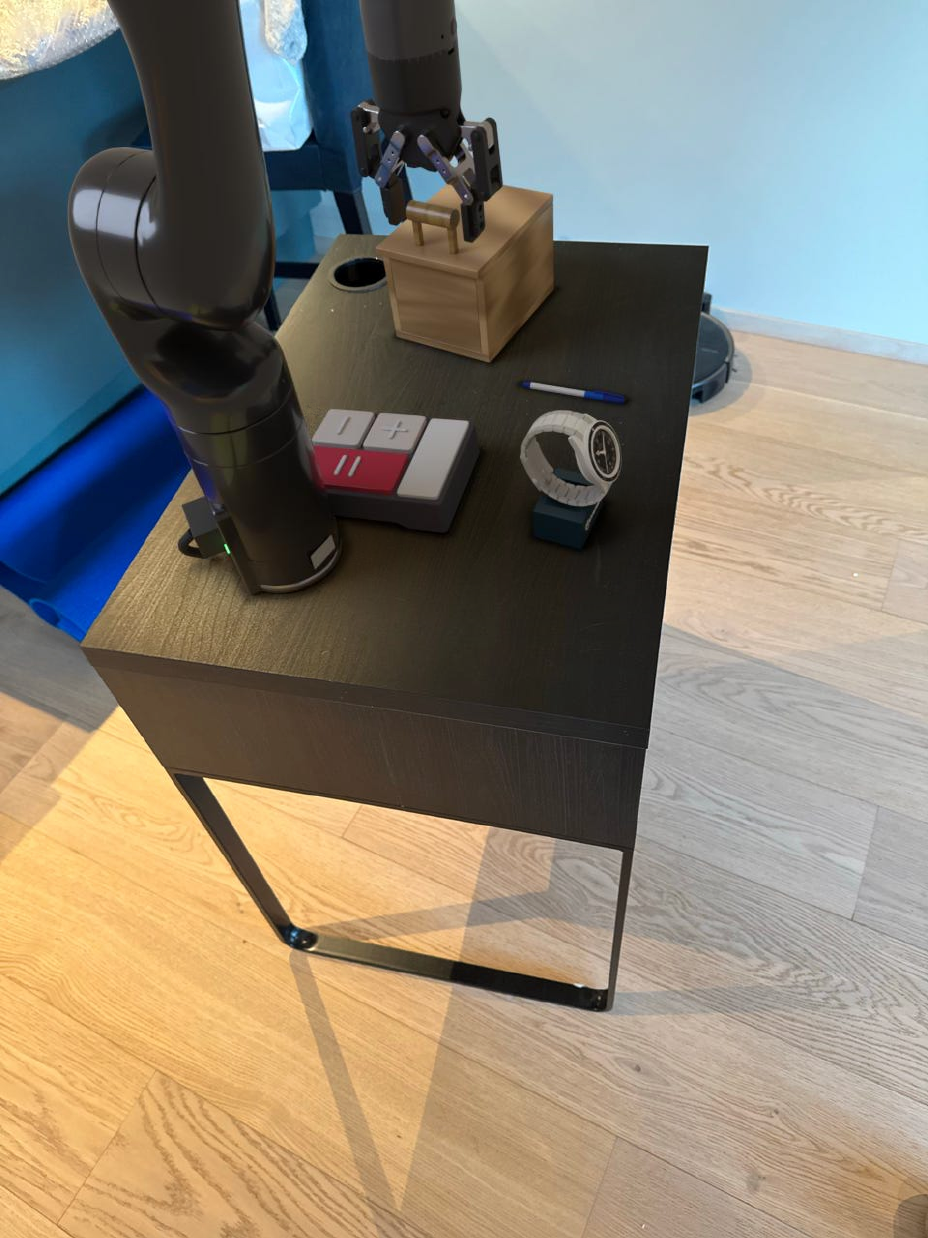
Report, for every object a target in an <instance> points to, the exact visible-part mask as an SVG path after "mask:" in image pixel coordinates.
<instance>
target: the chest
mask: <svg viewBox="0 0 928 1238" xmlns="http://www.w3.org/2000/svg"><path fill="white" fill-rule="evenodd" d="M382 260H383V267H384V271H385V278H386V284H387V290H388V295H389V300H390V306H391V311H392V317H393V324H394V328H395V335H396V337H397V338H400V339H403V340H407V341H411V342H414V343H417V344H422V345H424V346H429V347H432V348H435V349H440V350H443V351H447V352H450V353H454V354H458V355H461V356H464V357H467V358H471V359H475V360H479V361H481V362H486V363H489V364H490V363H491V362H492V361H493V360H494V359H495V357H496V356H497V355H498V354H499V353H500V352H501V351H502V349H503V348H505V346H506V345H507V344H508V343H509V341H510V340H511V339H512V338H513V337H514V336H515V334H516V333H517V332H518V331H519V330H520V329H521V328H522V327H523V325H525V323H526V322H527V321H528V320H529V318H530V317H532V315H533V314H534V313H535V312H536V310H537V309H538V308H539V307H540V306H541V305H542V303H543V302H544V301H545V300H546V299H547V298H548V297H549V295H551V293H552V292H553V291H554V289H555V284H554V283H555V282H554V280H555V278H554V275H555V274H554V273H555V272H554V271H555V270H554V269H555V267H554V266H555V265H554V201H553V202H552V203H551V204H550V205H549V206H548V207H547V209H546V210H545V211H544V212H543V213H542V214H541V215H540V216H539V217H538V218H537V219H536V220H535V221H534V222H533V223H532V224H531V225H530V226H529V227H528V228H527V229H526V230H525V231H524V232H523V233H522V234H521V235H520V236H519V237H518V239H517V240H516V241H515V242H514V243H513V244H512V245H511V246H510V247H509V248H508V249H507V250H506V251H505V252H504V253H503V254H502V255H501V256H500V257H499V258H498V259H497V260H496V261H495V262H494V263H493V264H492V265H491V266H490V268H489V269H488V270H487V271H486V272H485V273H484V274H483V275H482V276H481V277H480V278H479V279H475V278H471V277H467V276H463V275H458V274H454V273H450V272H446V271H442V270H437V269H433V268H429V267H425V266H421V265H416V264H412V263H408V262H404V261H400V260H395V259H391V258H387V257H383V256H382Z"/></svg>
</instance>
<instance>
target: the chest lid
mask: <svg viewBox="0 0 928 1238" xmlns="http://www.w3.org/2000/svg"><path fill="white" fill-rule="evenodd" d="M464 179H465V178H464ZM465 180H466V179H465ZM466 182H467V181H466ZM467 183H468V182H467ZM468 185H469V184H468ZM469 186H470V185H469ZM462 202H463V201H462V200H461V198H460V197H459V195H458V194H457V192H456V191H455V189H454V188H453V186H452V185H448V184H447V183H445V184H444V185H443V187H441V188H440V189H439V190H438V191H437V192H436V193H434V194H433V195H432V196H431V197H430V198H429V199H428V200H427V201H421V200H416V199H410V200H409V201H408V202H407V204H406V219H405V220H404V221H402V222H401V223H400V224H399V225H398V226H397V227H396V229H394V230H393V231H392V232H390V234H388V236H387V237H385V238H384V239H382V241H381V242H380V243H379V244H377V245H376V246H375V247H374V248H375V249H374V250H375V254H376V256H379V257H382V258H383V257H387V258H391V259H395V260H400V261H404V262H408V263H412V264H416V265H421V266H425V267H429V268H433V269H437V270H442V271H446V272H450V273H454V274H458V275H463V276H467V277H471V278H475V279H479V278H480V277H481V276H482V275H483V274H484V273H485V272H486V271H487V270H488V269H489V268H490V266H491V265H492V264H493V263H494V262H495V261H496V260H497V259H498V258H499V257H500V256H501V255H502V254H503V253H504V252H505V251H506V250H507V249H508V248H509V247H510V246H511V245H512V244H513V243H514V242H515V241H516V240H517V239H518V237H519V236H520V235H521V234H522V233H523V232H524V231H525V230H526V229H527V228H528V227H529V226H530V225H531V224H532V223H533V222H534V221H535V220H536V219H537V218H538V217H539V216H540V215H541V214H542V213H543V212H544V211H545V210H546V209H547V207H548V206H549V205H550V204H551V203H552V202H553V203H554V194H553V193H549V192H544V191H539V190H534V189H528V188H523V187H519V186H518V187H517V186H512V185H506V184H503V186H502V188H501V189H500V190H499V191H497V192H496V193H495V194H494V195H493V196H492V197H491V198H490V199H489V200H488V201H487V202H484V213H485V215H484V216H485V229H484V231H483V232H482V233H481V234H480V236H479V237H478V238H477V239H476V240H475V241H474V242H473V243H470V242H465V241H464V237H463V227H462V217H461V206H460V204H461V203H462Z"/></svg>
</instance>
